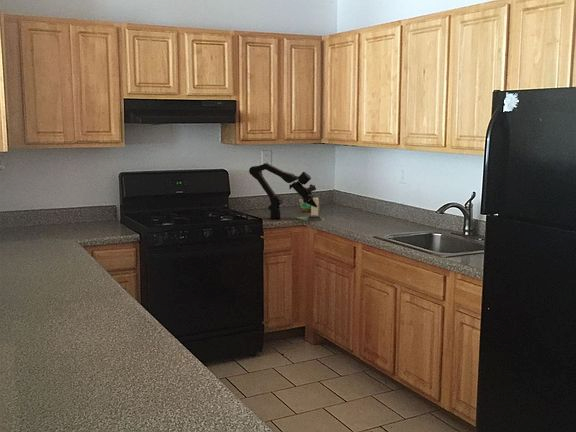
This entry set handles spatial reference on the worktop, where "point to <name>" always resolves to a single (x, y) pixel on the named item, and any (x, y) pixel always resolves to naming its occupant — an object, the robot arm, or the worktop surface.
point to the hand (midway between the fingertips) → (316, 206)
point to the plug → (315, 208)
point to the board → (311, 218)
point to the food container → (305, 207)
